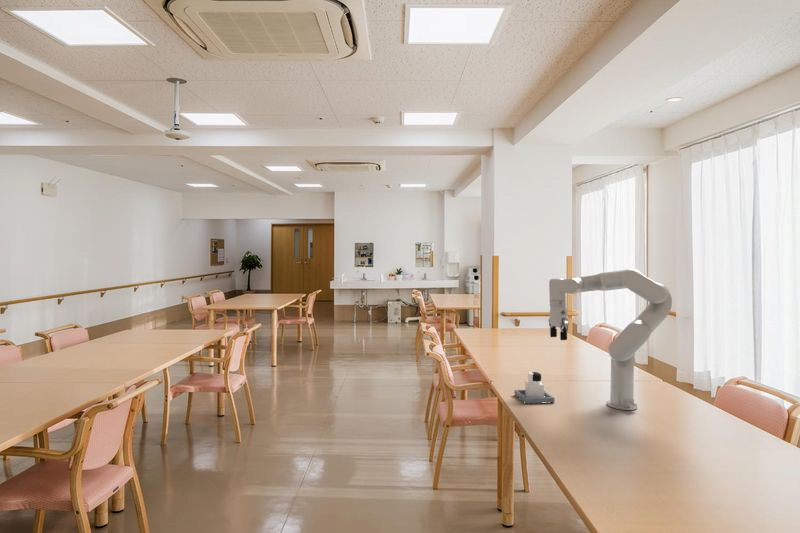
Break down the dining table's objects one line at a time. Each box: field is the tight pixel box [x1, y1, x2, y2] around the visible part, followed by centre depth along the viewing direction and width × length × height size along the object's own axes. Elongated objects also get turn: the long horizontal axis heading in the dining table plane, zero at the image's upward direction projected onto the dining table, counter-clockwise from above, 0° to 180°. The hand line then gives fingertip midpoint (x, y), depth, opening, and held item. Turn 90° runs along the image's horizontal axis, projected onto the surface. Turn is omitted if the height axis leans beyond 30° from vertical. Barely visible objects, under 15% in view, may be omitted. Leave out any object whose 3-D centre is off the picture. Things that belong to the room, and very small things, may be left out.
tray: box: [513, 389, 555, 404], centre depth 216 cm, size 14×14×2 cm
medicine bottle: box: [524, 371, 545, 398], centre depth 216 cm, size 7×7×12 cm
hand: (558, 338), depth 222 cm, fingers open, 9 cm apart
